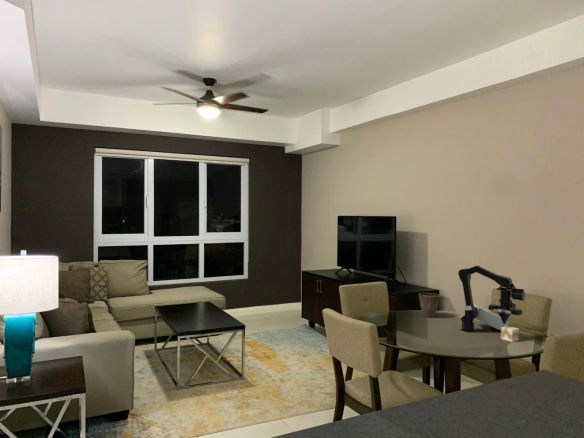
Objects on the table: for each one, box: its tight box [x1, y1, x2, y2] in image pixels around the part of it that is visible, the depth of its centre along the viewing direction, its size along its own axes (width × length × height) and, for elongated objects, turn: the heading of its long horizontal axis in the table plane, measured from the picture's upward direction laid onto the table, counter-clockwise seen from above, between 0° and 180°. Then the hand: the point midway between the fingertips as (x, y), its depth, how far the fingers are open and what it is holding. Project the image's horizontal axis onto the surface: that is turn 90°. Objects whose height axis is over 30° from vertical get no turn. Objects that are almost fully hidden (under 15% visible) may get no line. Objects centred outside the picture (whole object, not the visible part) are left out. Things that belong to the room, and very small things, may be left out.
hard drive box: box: [473, 304, 510, 332], centre depth 293 cm, size 16×8×20 cm
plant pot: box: [418, 292, 441, 319], centre depth 323 cm, size 15×15×16 cm
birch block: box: [500, 325, 520, 343], centre depth 269 cm, size 7×7×7 cm
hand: (504, 323), depth 272 cm, fingers closed
